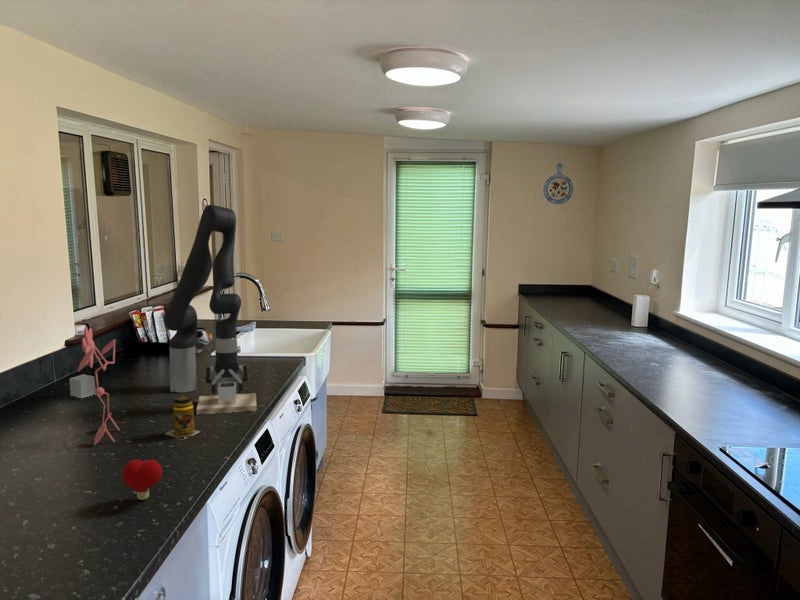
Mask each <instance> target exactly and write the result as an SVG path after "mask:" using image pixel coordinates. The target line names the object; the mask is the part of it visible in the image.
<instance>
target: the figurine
mask: <svg viewBox="0 0 800 600" xmlns="http://www.w3.org/2000/svg"><path fill="white" fill-rule="evenodd" d="M83 331H84V333H83V334H84V336H83V338H81V345H82V346H81V348H82V351H83V353H85V354H84V356H83V358H82V360H81V361H80V363H79V366H78V368H77V372H80V371H81V370H82V369H84V367H85V366H86V365H88V364H89V367H90V369H92V368H93V366H94V357H95V358H96V360H97V361H98V362H99V363H98V364H99V365H100V367H99V368H97V369H95V371H94V375H95V376H94V377H95V385H96V387H95V395H94V396H97V397H98V398H99V400H100V402H101V403H102V404H103V412H102V424H101V425H100V427H99V428H98V429H97V432H96V434H95V438H94V441H93V442H94V443H93V445H94V446H96V445H97V444H98V443H99V442H100V441H101V440H102V438H103V436H104V434H105V433H106V434H107V435H108V437H109V438H110V439H111V441H112V443H115V442H116V440H115V439H114V437H113V436H112V435H111V433H110V432H109V431H108V429H107V423H106V422H107V421H108V420H110V421H111V422H112V424H113V426H114V427H115V428H116V430H117V431H118V432H120V428H119V427H118V425H117V423H116V422H115V420H114V419H113V418H112V417H111V416H112V415H113V413H112V412H110V406H109V405H110V399H109V398H110V395H109V392H105V391H106V390H105V389H104V388H103V387H101V386H100V387H99V380H98V372H99V371H100V370H101V369H102V370H103V372H105V371H106V369H107V366H108V365H110V364H111V365H114V364H115V361H116V360H115V358H116V341H117V339H112V340H111V341H110V342H108V343H107V344H105V346H104V347H103V348H102V350H101V352H100V350H99V349H98V347H97V346H96V344H95V342H94V340H93V339H94V338H93V330H92V327H89V328H88V326H87V325H86V326H84V330H83ZM111 349H112V361H108V360H107V359H106V358H105V357H104V355H105V354H106V353H107V352H109V351H110V350H111ZM98 354H99V356H100V358H101V359H102V360H103V361H104V364H103V363H102V361H101V359H100V358H99V356H98ZM104 394H105V395H107V396H106V397H107V401H106V402H107V415H106V418H105V413H106V412H105V411H106V403H105V402H104V401H103V399H102V398H101V397H102V396H103V395H104ZM123 423H124V424H126V422H123V421H122V424H123ZM72 436H75V433H72V435H70V436H69V437H68V439H70V437H72ZM64 449H65V450H66V449H68V450H70V451H71V452H72V451H73V452H74V450H73V449H70V448H68V447H66V446H65V447H64Z"/></svg>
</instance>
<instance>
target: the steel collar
mask: <svg viewBox="0 0 800 600" xmlns="http://www.w3.org/2000/svg"><path fill="white" fill-rule="evenodd" d="M224 384H231V387H223V385H224ZM236 394H237V382H236V381H230V382H229V381H227V382H226V381H225V382H218V385H217V395H218V404H229V403H236Z"/></svg>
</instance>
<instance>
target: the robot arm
mask: <svg viewBox="0 0 800 600" xmlns="http://www.w3.org/2000/svg"><path fill="white" fill-rule="evenodd" d="M236 227H237V217H236V213H235V211H234V210H232V209H231V208H228V207H225V206H219V205H215V204H208V205H206V206H205V207H204V209H203V210H202V214H201V215H200V220H199V223H198V227H197V230H196V234H195V238H194V241H193V244H192V246H191V250H190V252H189V254H188V257H187V259H186V262H185V264H184V268H183V270H182V273H181V276H180V279H179V281H178V284H177V286H176V289H175V291H174V294H173V296H172V298H171V300H170V302H169V304H168V306H167V307H166V308H165V309H166V310H165V312H164V316H163V323H164V326H165V328H167V329H168V330H169V331H172V332H175V331H176V332H175V334H174V335H173V336H172V337H171V338H170V339H169V363H170V365H169V387H170V388H169V389H170V391H169V392H170V393H174V392H175V393H188V392H192V391H195V390H196V389H197V368H196V367H197V366H196V365H197V363H196V359H197V358H196V354H195V341H196V338H197V330H198V315H197V311H196V309H195V308H194V306H192V305H191V302H192V301H193V299H194V298H195V297H196V295H198V294H199V292H200V291H201V290H202V289H203V287H204V286H205V285H206V284H207V282H208V280H209V278H210V275H211V272H212V277H213V278H212V279H213V284H212V285H213V286H212V293H211V296H210V300H209V309H210V311H211V313H212V314H214V315H225V314H226V315H229V316H228V317H226V318H224V319H221V320H220V319H219V320H217V321H216V323H215V343H214V346H215V347H214V350H215V352H214V353H215V365H214V366H212V365H211V366H210V364H209V365H207V366H206V367H205V368H206V370H205V374H206V375H205V383H206V384H209V385H211V393H212V394H213V396H214V395H217V382H218V381H219V379H220V378H222V379H226V378H228V379H231V378H234V379H235V380H236V381H237V382H238V394H242V393H241V392H243V390H244V387H243V385H244V384H243V383H245V382H248V366H247V364H246V363H243V364H239V363H238V360H239V359H238V339H237V324H238V322H237V321H238V317H239V313H240V311H241V308H242V307H241V306H242V299H241V297H240V296H239V294H237V293H221V291H222V290H226V289H230V288H232V287H234V285H235V272H234V253H235V251H234V249H235V242H236V241H235V239H236V233H237V232H236V229H237V228H236ZM213 232H216V233H220V234H221V235H222V242H221V243H222V244H221V246H220V248H219V250H218V252H217V254H216V256H215V257H214V259H213V258H212V254H211V250H210V245H209V244H210V243H209V241H210V238H211V236H212V233H213ZM238 370H240V371H242V372H243V377H241V376H240V374H239V373H238ZM213 371H215V373H216V374H215V375H214V377H213V378H212V379H211V373H212V372H213Z"/></svg>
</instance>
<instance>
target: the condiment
mask: <svg viewBox="0 0 800 600" xmlns="http://www.w3.org/2000/svg"><path fill="white" fill-rule="evenodd" d="M194 409H195V408H194V405H193V398H192V396H190V395H187V394H186V395H184V394H183V395H179V396H175V398H173V407H172V421H173V422H172V423H173V430H171V431H168V432H165V433H166V434H165V435H166V436H170V437H173V438H176V439H178V437H181V438H182V437H184V439H183V440H185V439H187V437H188V436H191V437H193V436H194V435H197V434H199V433H201V431H200V430H195V414H194V413H195V412H194ZM174 436H175V437H174ZM188 438H189V437H188ZM179 440H181V439H180V438H179Z"/></svg>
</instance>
